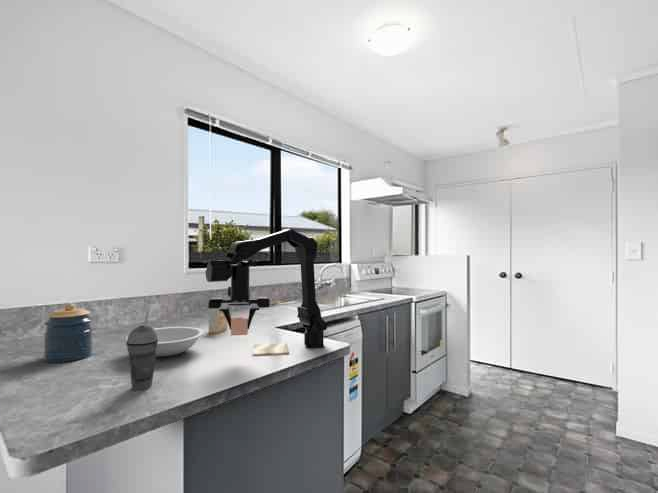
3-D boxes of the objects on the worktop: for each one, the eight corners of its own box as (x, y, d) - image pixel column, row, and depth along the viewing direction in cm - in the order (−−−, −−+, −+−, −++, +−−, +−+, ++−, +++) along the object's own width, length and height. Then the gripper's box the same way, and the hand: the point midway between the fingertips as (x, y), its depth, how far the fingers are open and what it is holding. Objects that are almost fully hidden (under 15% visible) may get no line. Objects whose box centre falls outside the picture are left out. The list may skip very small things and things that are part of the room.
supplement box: (218, 333, 149) (218, 302, 149) (208, 333, 150) (208, 302, 150) (227, 329, 157) (228, 299, 157) (217, 328, 158) (218, 299, 158)
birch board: (286, 344, 132) (286, 343, 132) (288, 354, 120) (289, 352, 120) (253, 346, 129) (253, 344, 129) (252, 355, 118) (252, 353, 118)
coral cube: (248, 331, 116) (248, 316, 116) (247, 334, 111) (247, 318, 111) (232, 331, 115) (232, 316, 115) (230, 335, 110) (231, 319, 110)
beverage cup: (133, 382, 94) (134, 306, 94) (162, 381, 94) (163, 306, 94) (119, 393, 86) (120, 311, 87) (150, 392, 87) (151, 310, 87)
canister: (101, 353, 119) (102, 301, 119) (61, 365, 107) (62, 307, 107) (74, 350, 123) (75, 299, 123) (33, 360, 111) (34, 304, 111)
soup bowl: (107, 360, 112) (107, 339, 112) (165, 342, 135) (166, 324, 135) (166, 369, 104) (166, 346, 104) (218, 348, 127) (218, 329, 127)
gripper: (269, 278, 123) (268, 323, 123) (213, 278, 120) (213, 325, 119) (269, 281, 112) (269, 330, 112) (208, 281, 109) (207, 332, 108)
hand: (239, 329), depth 113 cm, fingers closed on coral cube, 5 cm apart
